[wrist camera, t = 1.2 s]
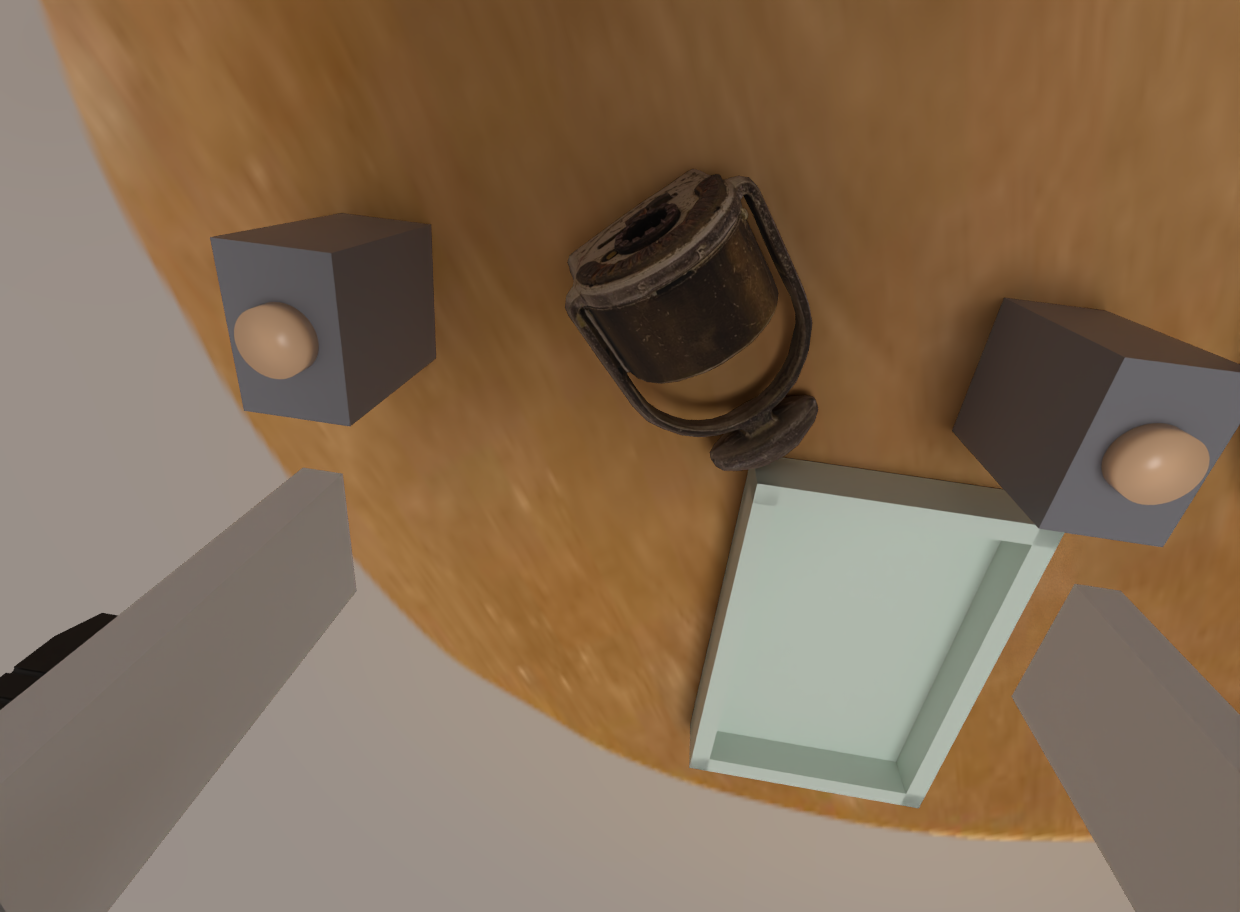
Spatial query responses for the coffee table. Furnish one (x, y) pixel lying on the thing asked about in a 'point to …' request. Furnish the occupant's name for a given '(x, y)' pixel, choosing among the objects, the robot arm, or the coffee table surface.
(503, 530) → the coffee table surface
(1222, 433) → the block
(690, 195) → the brown alarm clock
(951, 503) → the sage tray
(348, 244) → the far-side block
